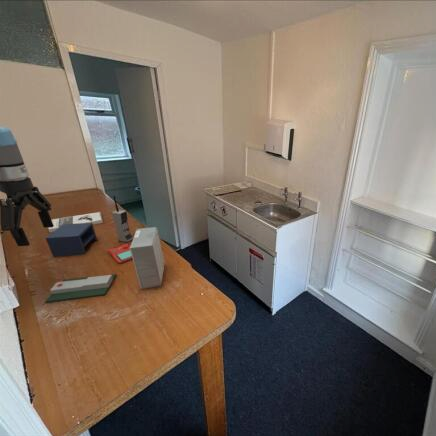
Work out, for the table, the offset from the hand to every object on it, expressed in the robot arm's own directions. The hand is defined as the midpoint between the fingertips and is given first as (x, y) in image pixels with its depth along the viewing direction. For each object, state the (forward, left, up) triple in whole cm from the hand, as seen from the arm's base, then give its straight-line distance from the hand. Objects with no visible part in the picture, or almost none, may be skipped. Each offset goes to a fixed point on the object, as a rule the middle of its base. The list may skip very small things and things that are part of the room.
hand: (37, 235), depth 84 cm
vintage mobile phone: (+15, +31, -22) cm, 41 cm away
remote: (+11, -6, -21) cm, 24 cm away
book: (-17, +57, -22) cm, 64 cm away
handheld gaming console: (+18, +17, -22) cm, 33 cm away
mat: (+11, -6, -22) cm, 25 cm away
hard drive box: (+35, -3, -22) cm, 41 cm away
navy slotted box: (-5, +27, -22) cm, 35 cm away
